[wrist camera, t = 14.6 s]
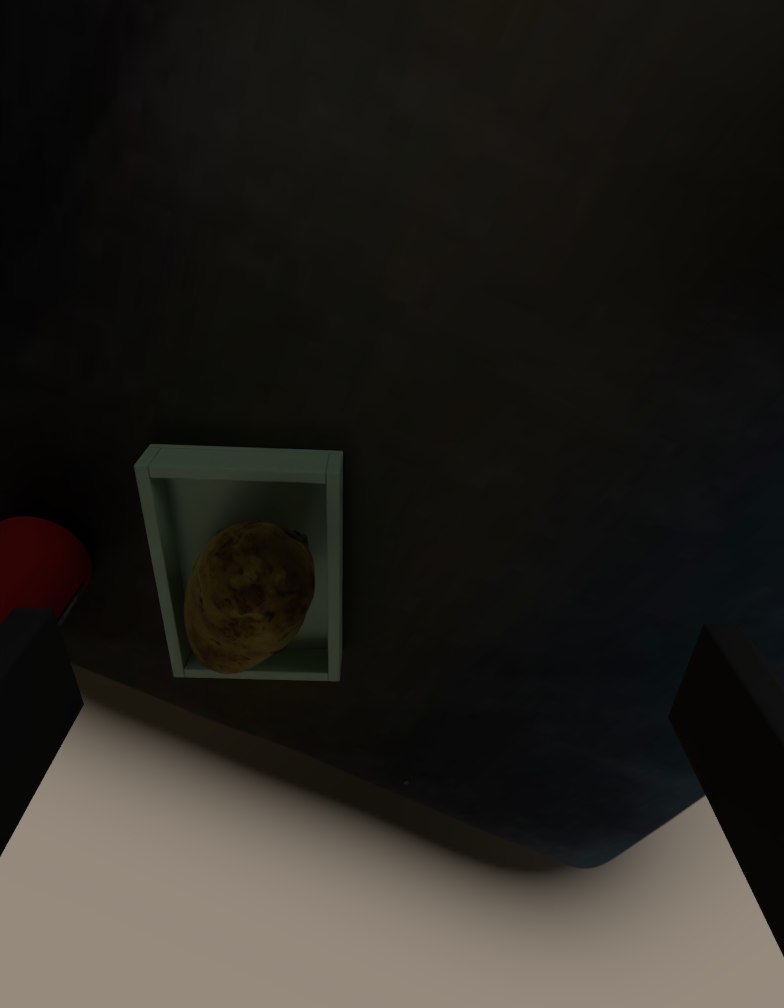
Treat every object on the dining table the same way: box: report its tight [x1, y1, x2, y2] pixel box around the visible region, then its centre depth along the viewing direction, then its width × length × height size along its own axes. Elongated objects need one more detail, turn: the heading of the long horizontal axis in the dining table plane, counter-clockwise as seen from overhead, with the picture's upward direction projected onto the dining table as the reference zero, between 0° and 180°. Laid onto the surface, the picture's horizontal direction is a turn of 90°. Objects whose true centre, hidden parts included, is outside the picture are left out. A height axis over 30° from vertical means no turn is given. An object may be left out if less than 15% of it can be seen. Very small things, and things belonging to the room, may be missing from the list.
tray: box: [134, 444, 343, 681], centre depth 40 cm, size 12×17×3 cm
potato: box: [184, 520, 315, 674], centre depth 38 cm, size 8×13×8 cm, turn 134°
